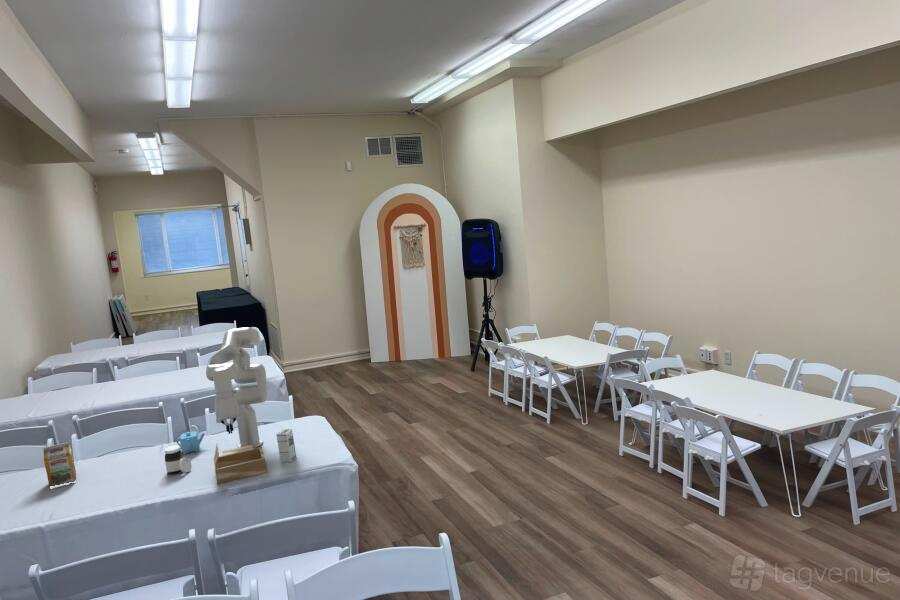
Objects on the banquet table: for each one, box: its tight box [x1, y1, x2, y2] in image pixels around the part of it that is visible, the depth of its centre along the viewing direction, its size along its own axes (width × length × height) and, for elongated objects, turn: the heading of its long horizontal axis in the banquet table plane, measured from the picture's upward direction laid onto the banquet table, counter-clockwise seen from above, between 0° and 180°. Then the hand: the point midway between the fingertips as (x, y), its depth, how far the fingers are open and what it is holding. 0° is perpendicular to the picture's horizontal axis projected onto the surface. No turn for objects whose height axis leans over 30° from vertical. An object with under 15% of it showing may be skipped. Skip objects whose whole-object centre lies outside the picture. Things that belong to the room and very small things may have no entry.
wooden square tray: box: [213, 445, 268, 485], centre depth 305 cm, size 22×22×7 cm
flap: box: [213, 443, 220, 468], centre depth 298 cm, size 13×7×1 cm
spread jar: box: [164, 444, 193, 475], centre depth 310 cm, size 12×11×12 cm
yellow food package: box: [42, 442, 77, 488], centre depth 309 cm, size 11×11×19 cm
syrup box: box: [276, 428, 297, 463], centre depth 312 cm, size 6×6×14 cm
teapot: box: [175, 430, 206, 455], centre depth 336 cm, size 18×14×10 cm
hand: (230, 432), depth 299 cm, fingers closed
